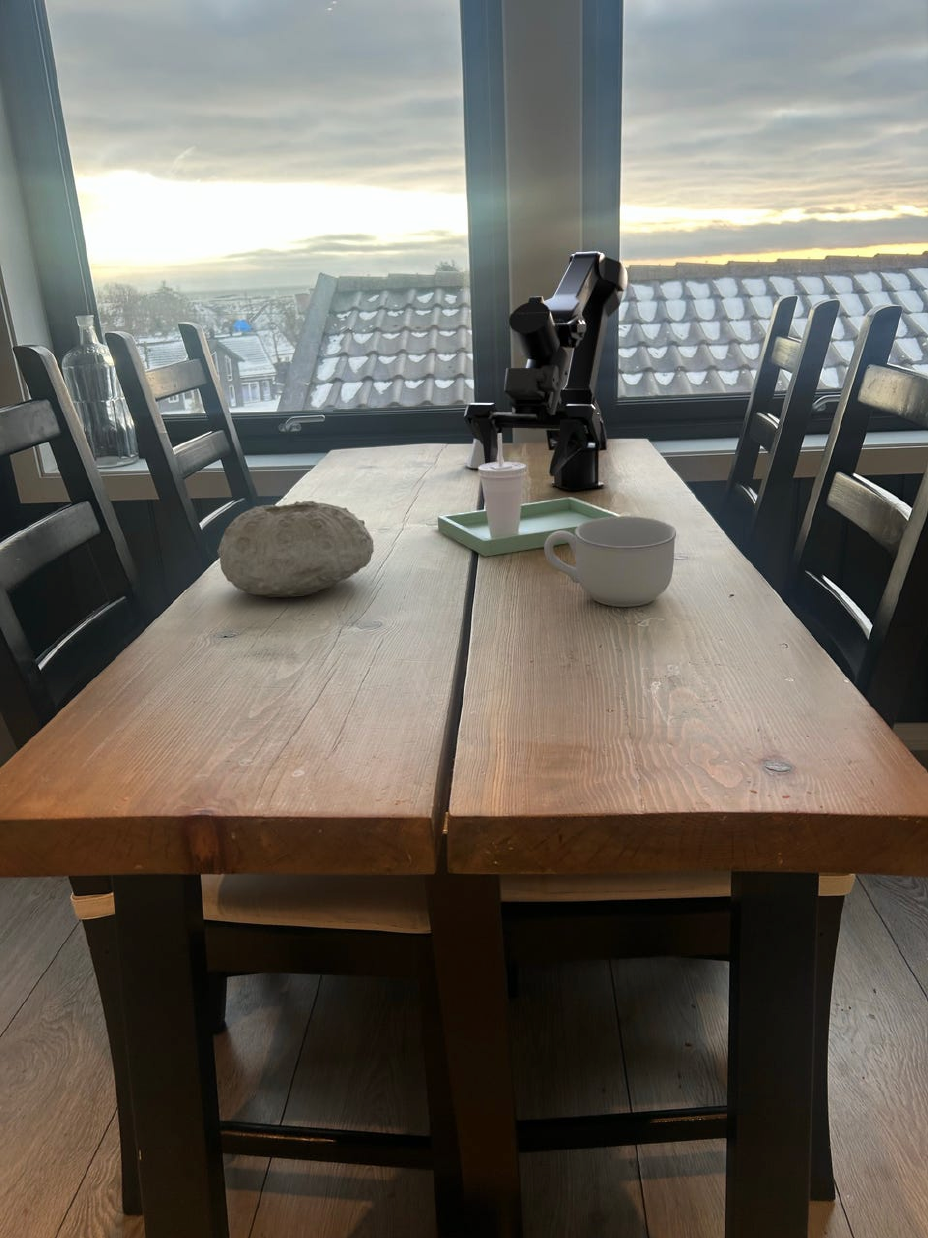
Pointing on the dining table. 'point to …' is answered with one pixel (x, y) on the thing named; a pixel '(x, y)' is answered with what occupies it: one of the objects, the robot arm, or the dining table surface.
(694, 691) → the dining table surface
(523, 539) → the tray
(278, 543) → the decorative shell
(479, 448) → the flask
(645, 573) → the teacup
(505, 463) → the smoothie
